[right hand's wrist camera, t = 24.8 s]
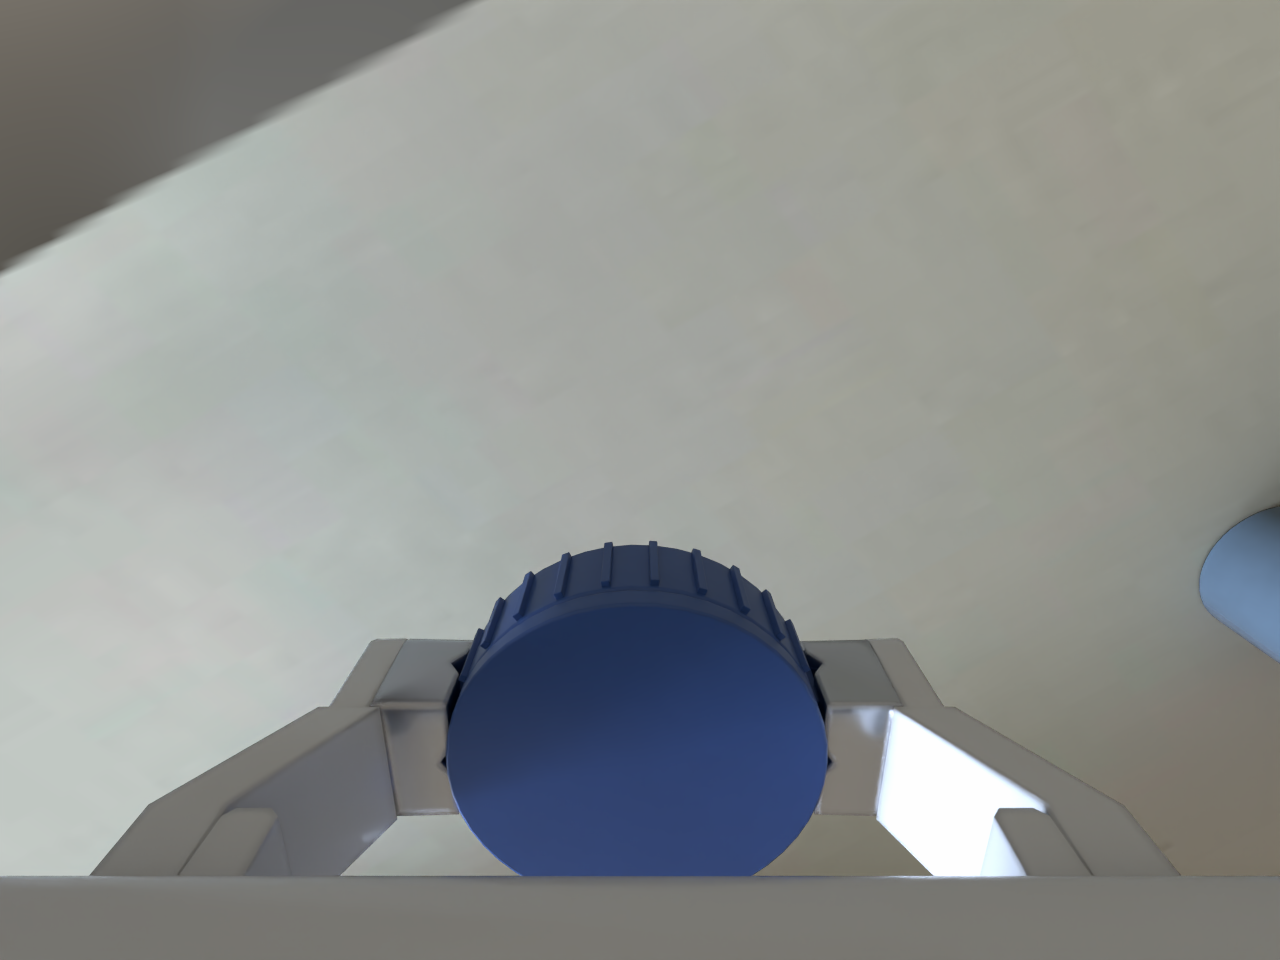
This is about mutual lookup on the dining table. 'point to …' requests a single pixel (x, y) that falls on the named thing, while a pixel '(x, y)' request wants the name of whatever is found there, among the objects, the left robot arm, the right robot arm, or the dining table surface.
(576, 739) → the lid
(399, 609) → the dining table surface
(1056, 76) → the dining table surface
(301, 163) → the dining table surface
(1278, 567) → the jar
